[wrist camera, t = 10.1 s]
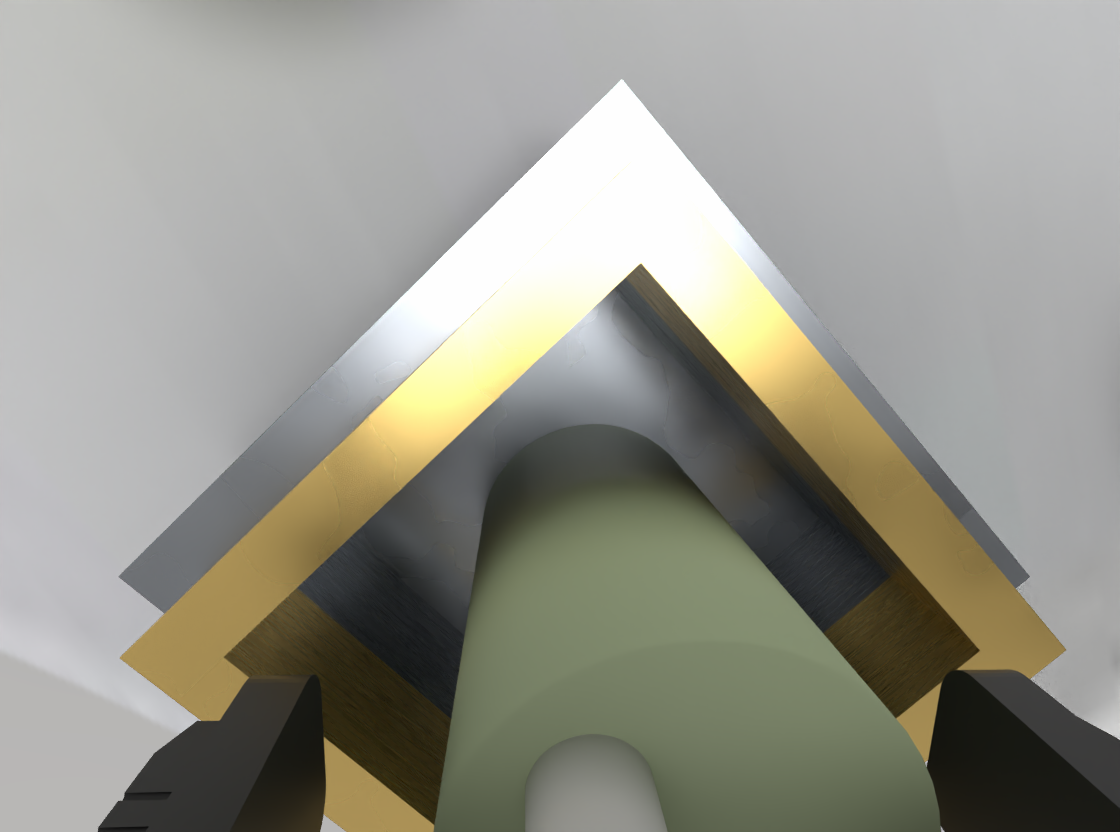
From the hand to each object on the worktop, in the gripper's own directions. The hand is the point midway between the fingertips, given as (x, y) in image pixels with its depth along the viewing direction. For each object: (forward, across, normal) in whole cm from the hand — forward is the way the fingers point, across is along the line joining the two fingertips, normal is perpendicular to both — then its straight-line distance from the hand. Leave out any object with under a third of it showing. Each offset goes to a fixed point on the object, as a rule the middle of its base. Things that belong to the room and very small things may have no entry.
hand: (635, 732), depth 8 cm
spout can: (+7, 0, 0) cm, 7 cm away
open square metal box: (+10, 0, 0) cm, 10 cm away
